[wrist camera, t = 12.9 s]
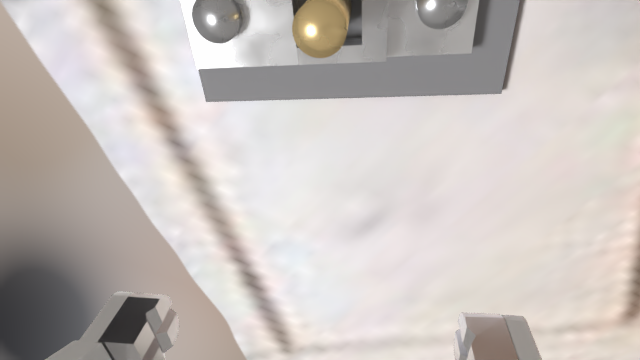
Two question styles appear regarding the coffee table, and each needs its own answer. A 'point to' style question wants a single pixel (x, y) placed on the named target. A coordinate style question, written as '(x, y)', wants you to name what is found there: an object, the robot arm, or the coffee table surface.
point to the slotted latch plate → (374, 46)
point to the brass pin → (321, 26)
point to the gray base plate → (380, 68)
